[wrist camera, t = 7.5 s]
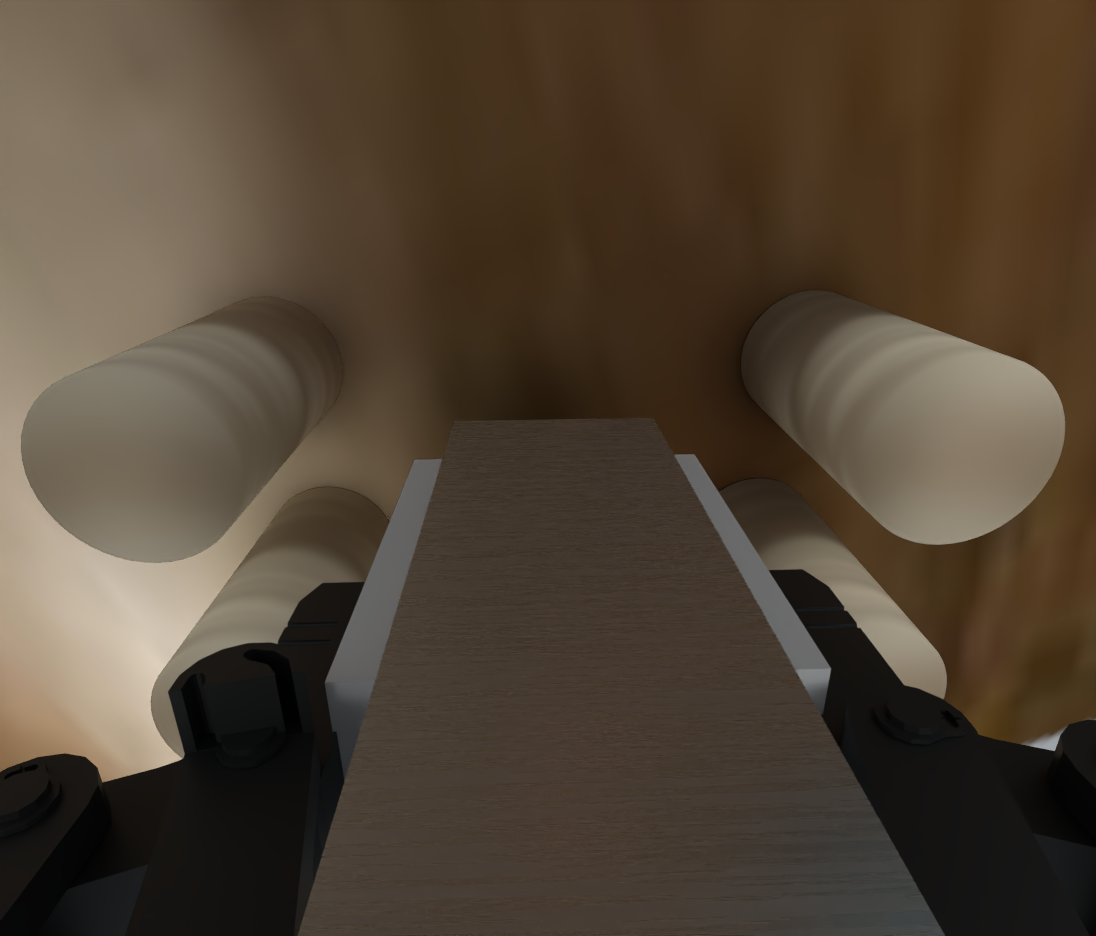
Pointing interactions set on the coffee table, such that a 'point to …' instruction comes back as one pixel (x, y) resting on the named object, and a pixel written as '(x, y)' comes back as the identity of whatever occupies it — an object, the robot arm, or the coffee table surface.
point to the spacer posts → (359, 525)
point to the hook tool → (593, 723)
